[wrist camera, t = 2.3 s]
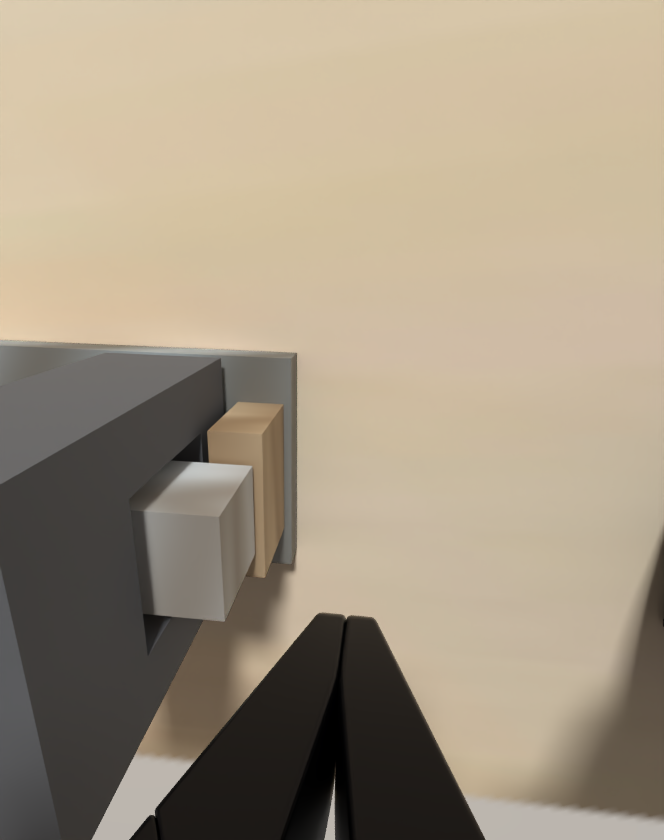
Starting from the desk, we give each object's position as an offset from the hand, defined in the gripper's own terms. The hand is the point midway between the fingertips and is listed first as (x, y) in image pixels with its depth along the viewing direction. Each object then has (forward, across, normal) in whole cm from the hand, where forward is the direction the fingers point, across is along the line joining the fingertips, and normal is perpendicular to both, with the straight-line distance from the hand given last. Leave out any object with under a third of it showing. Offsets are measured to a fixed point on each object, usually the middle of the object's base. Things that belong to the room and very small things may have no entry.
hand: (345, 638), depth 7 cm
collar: (+6, +5, 0) cm, 8 cm away
